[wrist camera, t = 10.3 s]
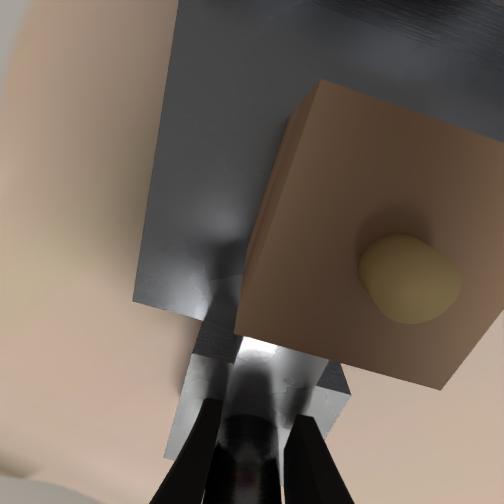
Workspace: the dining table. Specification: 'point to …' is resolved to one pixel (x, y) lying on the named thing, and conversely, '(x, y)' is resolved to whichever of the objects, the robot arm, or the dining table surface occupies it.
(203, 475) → the robot arm
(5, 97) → the dining table surface
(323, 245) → the wooden block
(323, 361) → the ram
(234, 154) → the metal bracket
